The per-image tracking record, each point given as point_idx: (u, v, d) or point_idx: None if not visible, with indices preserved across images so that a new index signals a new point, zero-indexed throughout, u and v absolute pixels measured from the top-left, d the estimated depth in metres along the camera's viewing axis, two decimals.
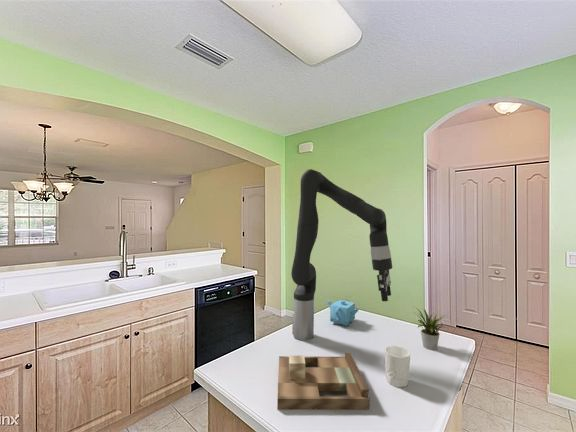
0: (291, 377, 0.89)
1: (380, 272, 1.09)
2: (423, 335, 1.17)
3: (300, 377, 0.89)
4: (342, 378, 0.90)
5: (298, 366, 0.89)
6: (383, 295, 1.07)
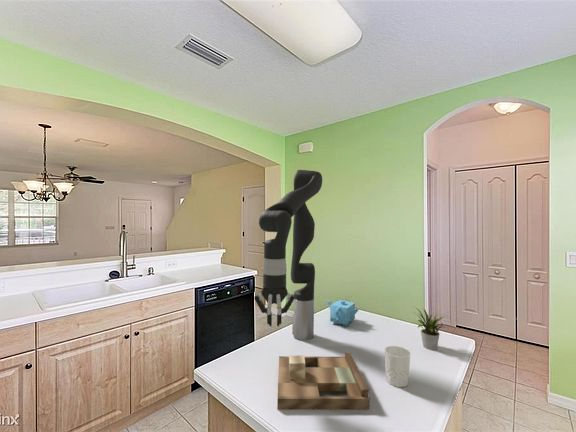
0: (291, 377, 0.89)
1: (263, 288, 0.91)
2: (423, 335, 1.17)
3: (300, 377, 0.89)
4: (342, 378, 0.90)
5: (298, 366, 0.89)
6: (267, 317, 0.91)
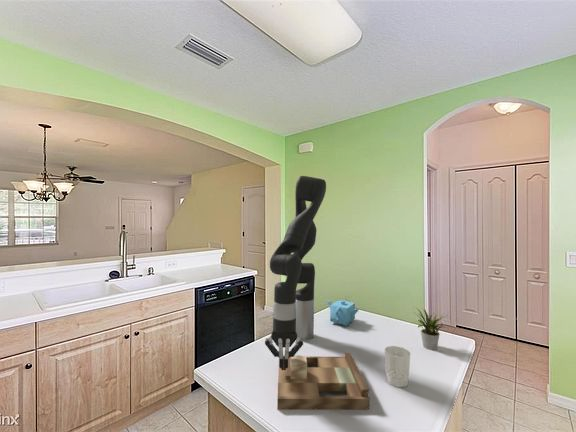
0: (292, 377, 0.88)
1: None
2: (423, 335, 1.17)
3: (301, 377, 0.88)
4: (342, 378, 0.90)
5: (299, 366, 0.89)
6: (279, 361, 0.91)
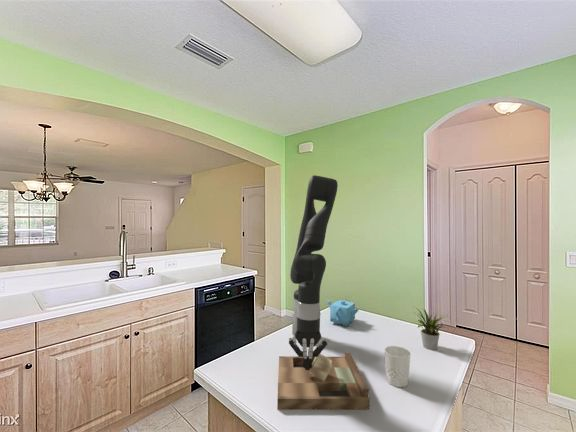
0: (312, 372, 0.88)
1: (296, 331, 0.91)
2: (423, 335, 1.17)
3: (320, 377, 0.87)
4: (342, 378, 0.90)
5: (323, 367, 0.87)
6: (303, 361, 0.91)
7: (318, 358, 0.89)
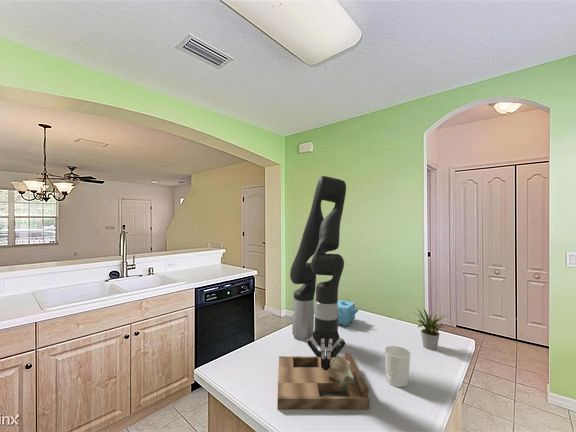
0: (330, 373, 0.88)
1: (314, 331, 0.91)
2: (423, 335, 1.17)
3: (338, 379, 0.87)
4: None
5: (340, 368, 0.87)
6: (321, 361, 0.91)
7: (336, 359, 0.88)
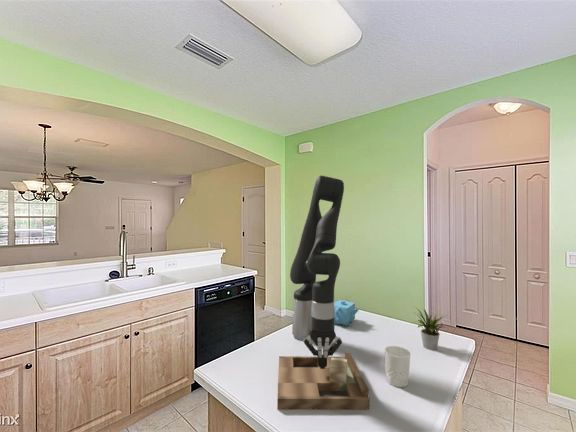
0: (331, 379, 0.88)
1: (311, 330, 0.92)
2: (423, 335, 1.17)
3: (340, 381, 0.87)
4: None
5: (338, 369, 0.87)
6: (318, 360, 0.91)
7: (331, 363, 0.89)
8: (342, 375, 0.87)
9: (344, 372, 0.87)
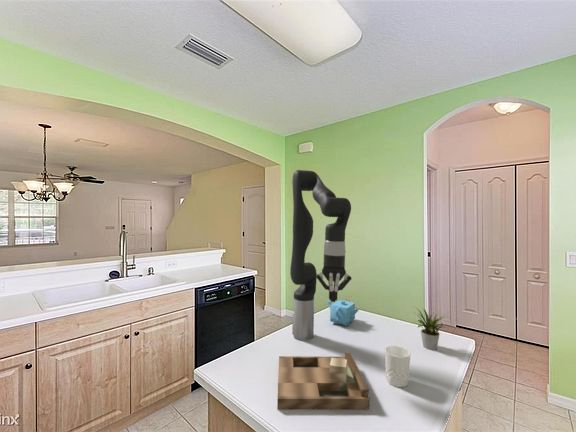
0: (331, 379, 0.88)
1: (323, 267, 1.01)
2: (423, 335, 1.17)
3: (340, 381, 0.87)
4: None
5: (338, 369, 0.87)
6: (329, 294, 1.01)
7: (331, 363, 0.89)
8: (342, 375, 0.87)
9: (344, 372, 0.87)
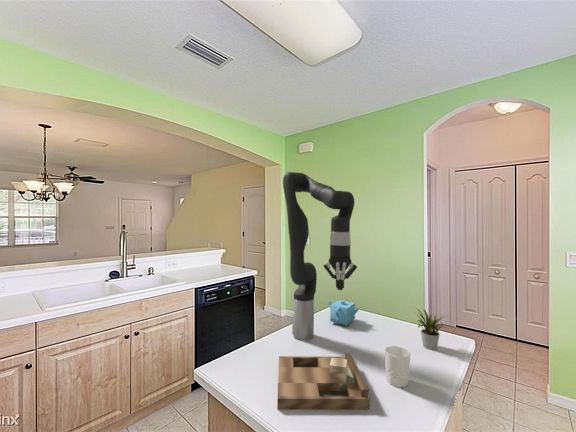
0: (331, 379, 0.88)
1: (330, 257, 1.06)
2: (423, 335, 1.17)
3: (340, 381, 0.87)
4: None
5: (338, 369, 0.87)
6: (336, 283, 1.06)
7: (331, 363, 0.89)
8: (342, 375, 0.87)
9: (344, 372, 0.87)
